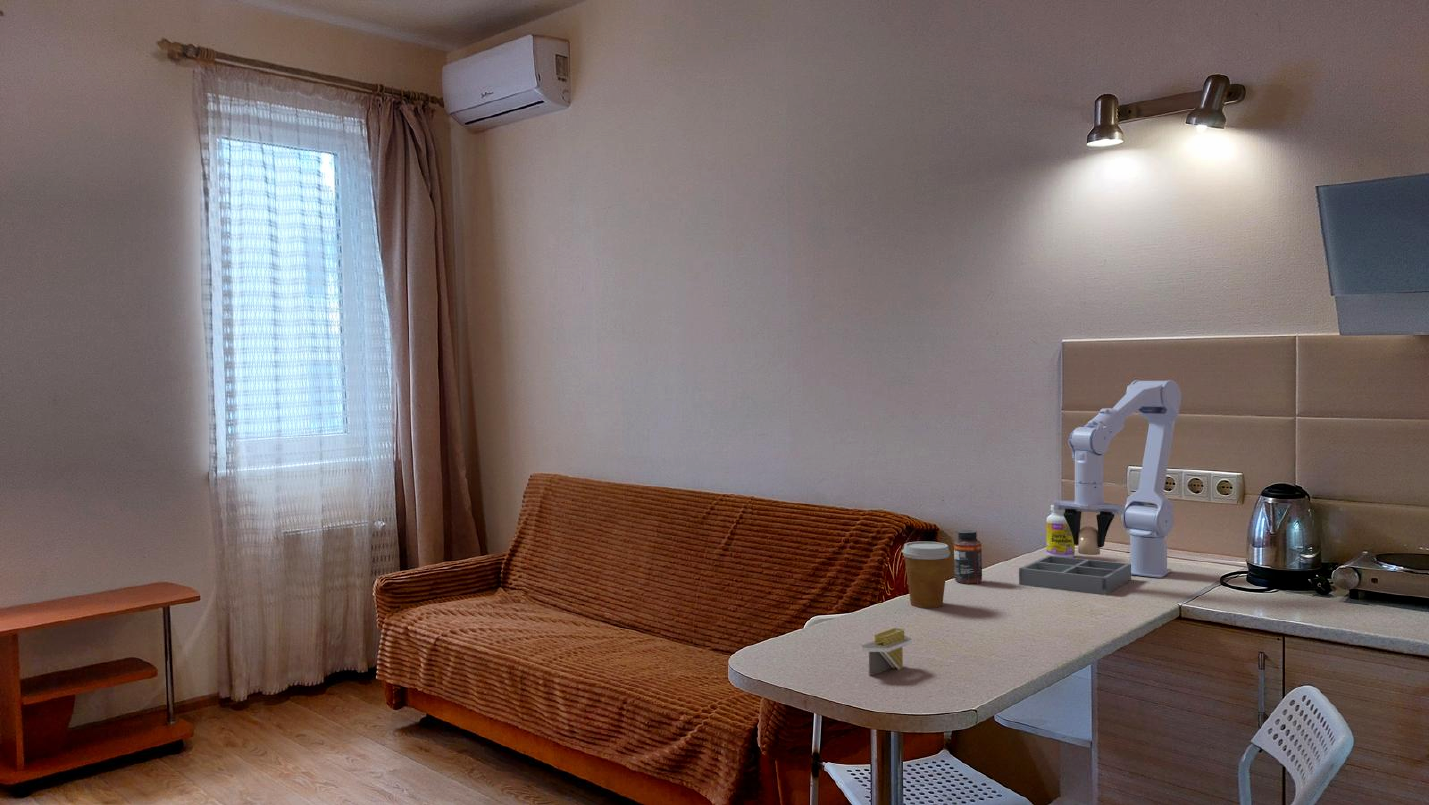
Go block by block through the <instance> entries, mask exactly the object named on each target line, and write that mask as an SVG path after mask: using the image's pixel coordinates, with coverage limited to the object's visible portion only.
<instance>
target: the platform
mask: <svg viewBox="0 0 1429 805" xmlns="http://www.w3.org/2000/svg"><path fill="white" fill-rule="evenodd" d="M896 630H897V631H896ZM911 644H912V638H911V637H908V636H906V635H905V629H903V628H899V627H893V628H890V629H887V630H884V631H881V632H878V633H876V634H874V640H873V641H872V642H868V643H865V644H863V645H861V646H860V651H862V652H868V668H869V669H868V674H869V675H868V676H869V677H871V676H874V675H877V674H880V673H882V672H885V671H887V670H889V669H895V668H896V669H897V670H902V669H903V668H904V667H903V666H904V665H903V662H904V660H903V647H905V646H908V645H911Z"/></svg>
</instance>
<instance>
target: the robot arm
mask: <svg viewBox="0 0 1429 805" xmlns="http://www.w3.org/2000/svg"><path fill="white" fill-rule="evenodd" d="M1182 395H1183V393H1182V391H1181V389H1180V386H1179V385H1178V383H1177V382H1176V381H1175V380H1173V379H1168V380H1139V379H1135V380H1133V381H1132V382H1131V383H1130V384H1128V385H1127V388H1126V392H1125V394H1124V396H1122V397H1121V399H1119V401H1118V402H1117V403H1116V404H1115V405H1114V406H1113V407H1112V408H1111V407H1107V408H1101V409H1100V410H1099V413H1098V414H1097V415H1096V416H1094V417H1093V418H1092V419H1091V420H1089V421H1088V422H1087V423H1086V424H1085V425H1084V426H1078V427H1076V428H1075V429H1073V430H1072V432H1071V433H1070V435H1069V439H1068V441H1067V442H1068V447H1069V449H1070V451H1071V458H1072V461H1074V500H1059V499H1058V500H1055V501H1053V505H1054V510H1065V513H1063V515H1064V518H1065V519H1066V521H1067V523H1068V525H1069V528H1070V530H1071V533H1072V536H1073V541H1074V545H1075V546H1078V534H1079V531H1080V530H1081V521H1082V520H1081V519H1082V513H1083V512H1085V513H1096V523H1097V530H1098V547H1100V548H1103V547H1105V541H1106V537H1107V534H1108V531H1109V528H1110V527H1111V524H1112V522H1113V521H1114V519H1115V515H1118V516H1119V515H1121V516H1120V517H1121V518H1120V520H1121V523H1122V526H1123V527H1124V529H1125V530H1126V534H1128V535H1129V559H1130V560H1129V564H1131V576H1138V577H1140V576H1142V577H1148V578H1149V577H1150V578H1158V579H1162V578H1163V577H1165V576H1167V575H1168V574H1170V573H1171V572H1172V571H1173V569H1172V568H1168V543H1167V540H1166V537H1168V535H1169V533H1170V532H1171V531H1172V529H1173V527H1174V522H1175V520H1174V504H1173V503H1172V501H1171V500H1169V498H1168V497H1167V496H1166V495H1165V494H1164V490H1165V485H1166V479H1167V474H1168V473H1167V472H1168V467H1169V460H1170V456H1171V455H1170V454H1171V448H1172V444H1173V443H1172V441H1173V436H1174V430H1175V424H1176V420H1177V419H1178V418H1179V414H1180V408H1181V403H1182V401H1181V400H1182ZM1136 412H1137V413H1138V415H1140V417H1142V418H1143V419H1146V420H1147V423H1148V429H1147V436H1146V441H1145V449H1144V454H1143V459H1142V465H1141V466H1142V467H1141V472H1140V476H1139V482H1138V489H1137V490H1136V491H1135V492H1133V493H1131V494H1130V495H1129V496H1128V497H1127V498H1126V503H1125V504H1118V503H1111V502H1104V454H1105V453H1107V451H1108V450H1109V448H1110V443H1111V442H1112V440H1113V439H1114V437H1115V436H1117V434H1118V433H1119V432H1121V431H1122V430H1123V429H1124V427H1125V423H1126V422H1125V420H1126V419H1128V418H1129V417H1130V416H1132V415H1134V414H1135V413H1136ZM1097 513H1098V514H1097Z"/></svg>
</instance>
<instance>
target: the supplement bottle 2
mask: <svg viewBox="0 0 1429 805" xmlns="http://www.w3.org/2000/svg"><path fill="white" fill-rule="evenodd" d="M1050 511H1051V514H1049V515H1048V516H1047V517H1046V556H1048V555H1049V556H1059V557H1069V558H1075V552H1076V550H1075V548H1076V547H1075V546H1076V545H1074V541H1073V536H1072V533H1071V530H1070V528H1069V525H1068V523H1067V521H1066V519H1065V518H1064V515H1063V513H1065V510H1054V504H1051V505H1050Z"/></svg>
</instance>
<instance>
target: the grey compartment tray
mask: <svg viewBox="0 0 1429 805" xmlns="http://www.w3.org/2000/svg"><path fill="white" fill-rule="evenodd" d="M1131 580H1132V575H1131V564H1130V563H1128V562H1117V561H1108V560H1099V559H1098V560H1096V559H1087V558H1079V557H1076V558H1075V557H1073V558H1069V557H1059V556H1049V555H1048V556H1047V555H1046V556H1043V557H1042V558H1039V559H1038V560H1035V561H1032V562H1031V563H1027V564H1026V565H1024V566H1021V567H1018V585H1022V586H1031V587H1037V588H1038V587H1039V588H1046V589H1056V590H1063V591H1070V592H1079V593H1088V594H1097V595H1103V594H1105V595H1104V596H1107V595H1109V594H1110V593H1111V592H1113V591H1114V590H1116V589H1118V588H1119V586H1120V587H1121V586H1122V585H1124V584H1126V583H1128V582H1129V581H1131ZM1106 594H1107V595H1106Z"/></svg>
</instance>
